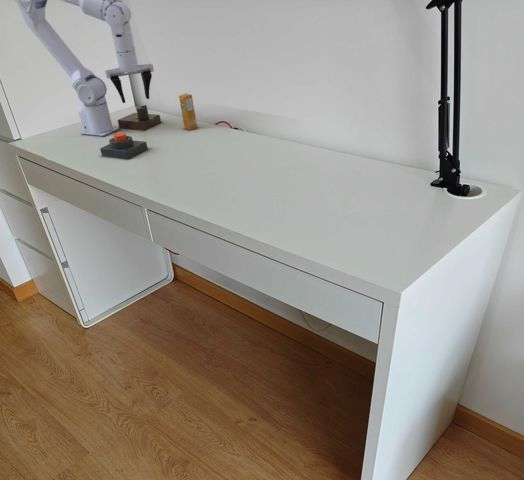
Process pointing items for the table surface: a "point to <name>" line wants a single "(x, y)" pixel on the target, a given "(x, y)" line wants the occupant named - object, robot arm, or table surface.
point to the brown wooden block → (138, 122)
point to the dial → (142, 112)
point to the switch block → (123, 148)
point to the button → (120, 137)
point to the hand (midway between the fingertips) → (135, 100)
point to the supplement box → (188, 111)
